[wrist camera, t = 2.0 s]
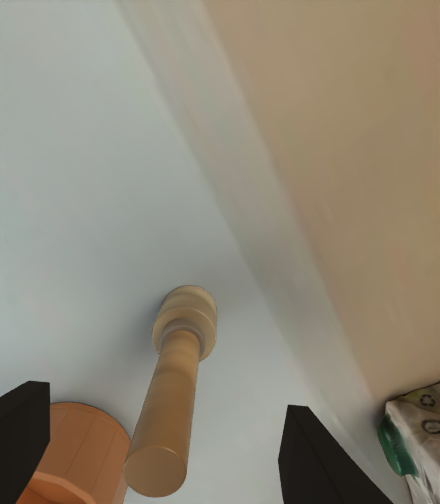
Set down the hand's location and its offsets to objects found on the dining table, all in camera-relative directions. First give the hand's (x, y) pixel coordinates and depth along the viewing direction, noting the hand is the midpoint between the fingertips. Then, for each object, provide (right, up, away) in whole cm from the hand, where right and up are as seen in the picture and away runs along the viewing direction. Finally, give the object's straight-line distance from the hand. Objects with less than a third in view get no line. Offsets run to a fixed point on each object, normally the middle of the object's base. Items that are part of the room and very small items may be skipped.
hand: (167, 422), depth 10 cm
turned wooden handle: (0, +2, +8) cm, 8 cm away
